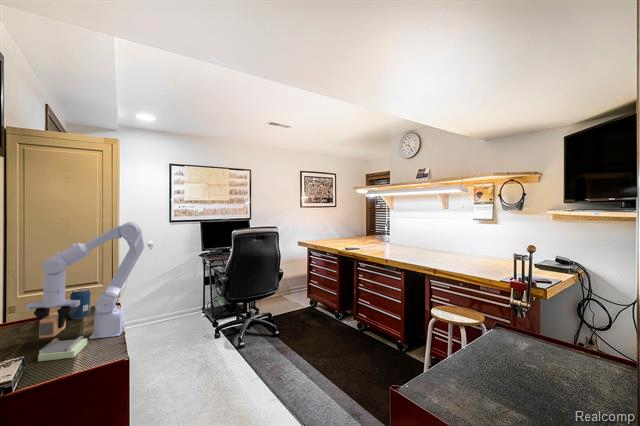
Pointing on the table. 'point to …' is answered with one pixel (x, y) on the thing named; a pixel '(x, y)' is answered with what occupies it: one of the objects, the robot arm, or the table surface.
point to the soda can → (84, 305)
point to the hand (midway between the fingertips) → (53, 327)
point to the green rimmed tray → (62, 349)
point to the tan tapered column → (50, 326)
